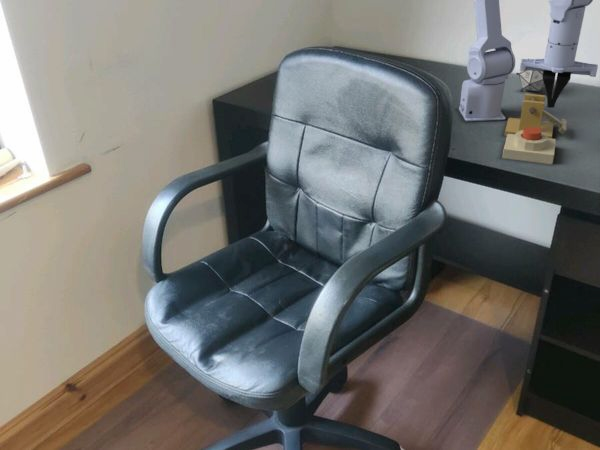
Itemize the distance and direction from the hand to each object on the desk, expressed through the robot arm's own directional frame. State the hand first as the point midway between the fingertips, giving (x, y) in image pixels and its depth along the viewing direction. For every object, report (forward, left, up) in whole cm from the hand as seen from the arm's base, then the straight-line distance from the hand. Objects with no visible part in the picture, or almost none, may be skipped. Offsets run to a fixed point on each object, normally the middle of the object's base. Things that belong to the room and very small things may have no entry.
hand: (550, 105), depth 130 cm
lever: (+2, +6, -6) cm, 9 cm away
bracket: (-1, +7, -9) cm, 12 cm away
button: (-4, -3, -6) cm, 8 cm away
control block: (-4, -3, -9) cm, 11 cm away
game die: (+8, +32, -9) cm, 34 cm away
